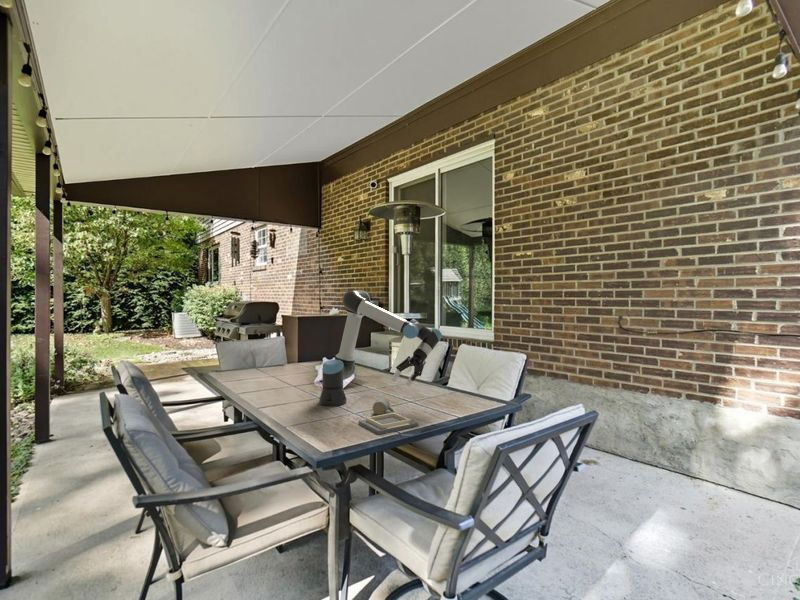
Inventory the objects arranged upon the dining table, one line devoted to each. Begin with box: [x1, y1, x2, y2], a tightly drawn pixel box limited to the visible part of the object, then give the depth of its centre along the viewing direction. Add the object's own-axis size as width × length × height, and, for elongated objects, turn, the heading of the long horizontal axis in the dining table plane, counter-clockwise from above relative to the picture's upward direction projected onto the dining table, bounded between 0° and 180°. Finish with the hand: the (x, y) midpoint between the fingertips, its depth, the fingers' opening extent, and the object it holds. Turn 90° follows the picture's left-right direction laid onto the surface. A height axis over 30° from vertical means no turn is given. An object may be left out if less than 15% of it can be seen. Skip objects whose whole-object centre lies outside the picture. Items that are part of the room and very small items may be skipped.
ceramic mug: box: [372, 396, 395, 416], centre depth 218 cm, size 11×8×8 cm
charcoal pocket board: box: [358, 412, 420, 435], centre depth 200 cm, size 18×22×3 cm
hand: (399, 382), depth 225 cm, fingers open, 13 cm apart
